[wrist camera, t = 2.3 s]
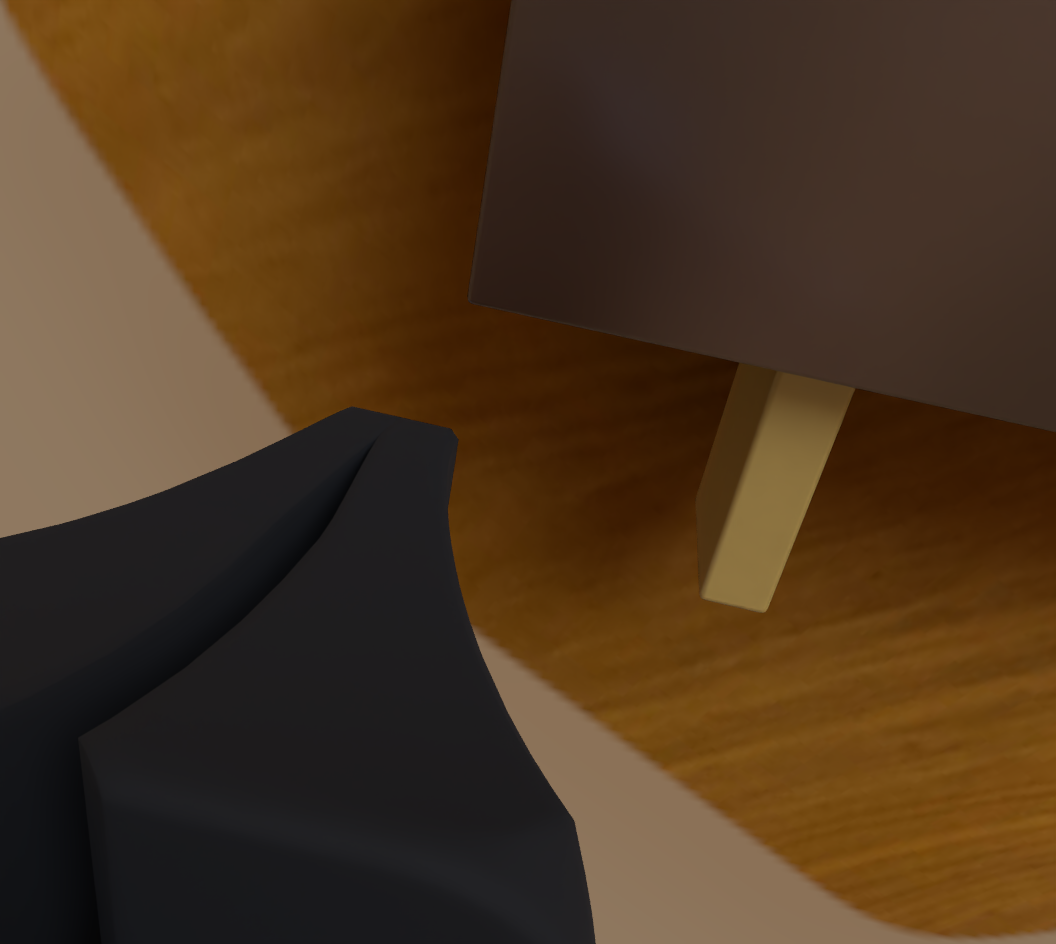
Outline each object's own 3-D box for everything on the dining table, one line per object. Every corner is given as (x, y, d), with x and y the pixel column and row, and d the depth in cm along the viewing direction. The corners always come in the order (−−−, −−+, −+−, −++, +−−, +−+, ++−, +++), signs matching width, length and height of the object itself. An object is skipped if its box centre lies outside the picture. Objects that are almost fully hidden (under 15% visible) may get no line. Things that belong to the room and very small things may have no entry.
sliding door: (536, 431, 16) (499, 555, 13) (588, 176, 14) (561, 243, 11) (905, 514, 16) (968, 664, 13) (1020, 268, 14) (1136, 367, 10)
